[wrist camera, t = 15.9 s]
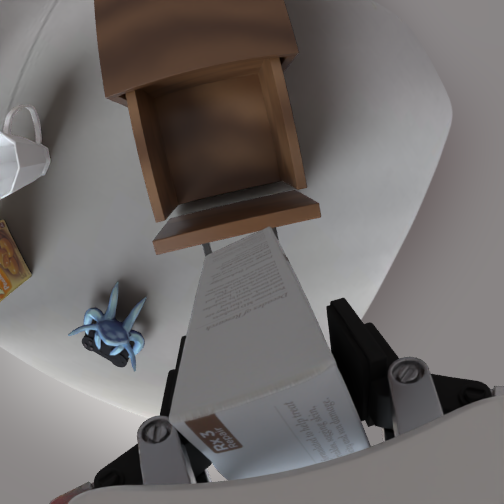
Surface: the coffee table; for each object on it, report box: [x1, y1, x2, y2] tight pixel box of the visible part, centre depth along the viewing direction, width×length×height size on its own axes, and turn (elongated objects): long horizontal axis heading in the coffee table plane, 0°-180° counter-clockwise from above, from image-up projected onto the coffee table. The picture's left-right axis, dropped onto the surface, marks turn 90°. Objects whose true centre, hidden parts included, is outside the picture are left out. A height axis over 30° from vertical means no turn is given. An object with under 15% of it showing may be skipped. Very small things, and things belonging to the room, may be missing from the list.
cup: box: [0, 105, 51, 199], centre depth 23 cm, size 7×10×8 cm
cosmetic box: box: [169, 227, 371, 480], centre depth 12 cm, size 6×4×12 cm
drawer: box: [125, 57, 321, 257], centre depth 26 cm, size 19×13×8 cm
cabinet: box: [94, 0, 299, 107], centre depth 20 cm, size 16×15×10 cm
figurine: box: [68, 281, 147, 371], centre depth 32 cm, size 10×12×8 cm
